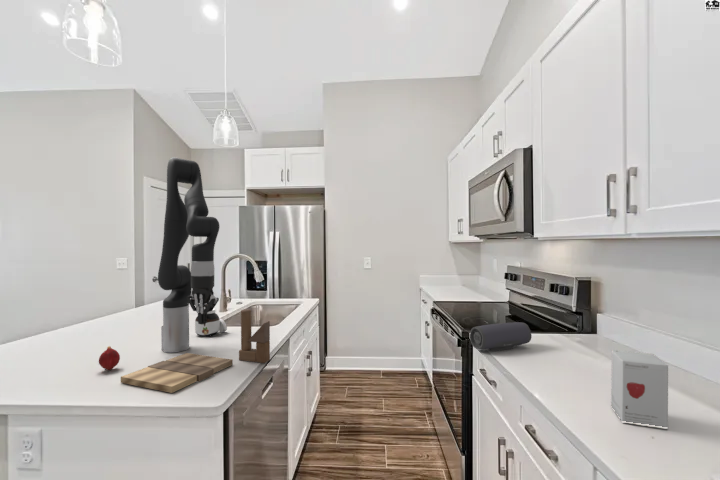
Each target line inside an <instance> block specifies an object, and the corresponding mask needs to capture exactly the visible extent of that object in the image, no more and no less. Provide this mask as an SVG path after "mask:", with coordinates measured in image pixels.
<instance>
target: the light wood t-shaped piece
mask: <svg viewBox="0 0 720 480" xmlns="http://www.w3.org/2000/svg"><path fill="white" fill-rule="evenodd" d="M270 323H271V322H270V321H266V322H264V323H263V324H262V325H260V327H259V328H258V329H257V330H256V332H254V334H252V310H251V309H249V308H246V309H241V310H240V346H241V347H240V349H239V350H238V360H239V361H243V362H244V361H245V362H250V363H251V362H254V363H261V364H266V363H267V362H269V361H270V360H271V357H270V356H271V348H270V347H271V346H270V344H271V343H270V340H271V339H270V337H271V336H270V335H271V333H270V332H271V331H270V328H271V327H270ZM252 343H255V348H252Z"/></svg>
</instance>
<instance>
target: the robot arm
mask: <svg viewBox="0 0 720 480" xmlns="http://www.w3.org/2000/svg"><path fill="white" fill-rule="evenodd" d="M166 167H167V168H166V203H165V214H164V223H163V239H162V249H161V251H162V252H161V256H160V262H159V266H158V274H157V282H158V286H159V287H160V289H162V290H163V291H171V292H170V294H169V295H168V296H167V297H165V298H164V299H163V301H162V325H161V327H160V328H161V351H163V352H164V353H180V352H184V351H187V350H188V349H190V307H191V309H192V311H193V312H196V314H197V316H198V324H206V322H207V313H208V312H210V311H212V310H213V308H214V309H215V306H216V305H217V304H218V302H219V301H220V298H219V297H216V296H215V295H214V294H215V293H214V287H215V262H214V261H215V260H214V259H215V246H216V241H217V238H218V234H219V232H220V222H219V220H218V219H217V218H216V217H215V216H214V217H213V216H208V215H209V207H208V205H207V201H206V199H205V196H204V190H203V188H204V187H203V181H202V180H203V179H202V172H201V169H200V166H199V164H198V162H196V161H194V160H190V159H186V158H185V159H184V158H179V157H171V158H169V159H168V163H167V166H166ZM178 183H180V184H181V183H182V184H188V185H191V187H190V188H189V189H188V190H187V192H186V193H185V195H184V199H182V197H181V195H180V192H179V184H178ZM189 237H194V238H195V237H196V238H197V237H199V238H206V239H205V240H204V242H203V241H202V242H201V243H195V244H192V246H191V266H190V268H189V267H188V266H186V265H183V264H181V265H178V263H179V262H178V261H179V258H180V257H179V256H180V253H181V251H182V249H183V247H184V246H185V244H186V242H187V240H188V238H189Z"/></svg>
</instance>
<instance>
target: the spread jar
mask: <svg viewBox="0 0 720 480" xmlns="http://www.w3.org/2000/svg"><path fill="white" fill-rule="evenodd" d="M227 329H228V326H227V324H226V322H225V320H224V319H222V318H220V316H219V315H218V314H217V313H216V308H215V307H214V308H213V310H212V311H210V312H208V313H207V322H206V324H198V315H197V316H196V317H195V321H194V331H195V334H196V335H197V336H198V337H200V338H210V337H214V336H216V335H217V334H218V333H219V332H220V333H225V332H226V331H227Z"/></svg>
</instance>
